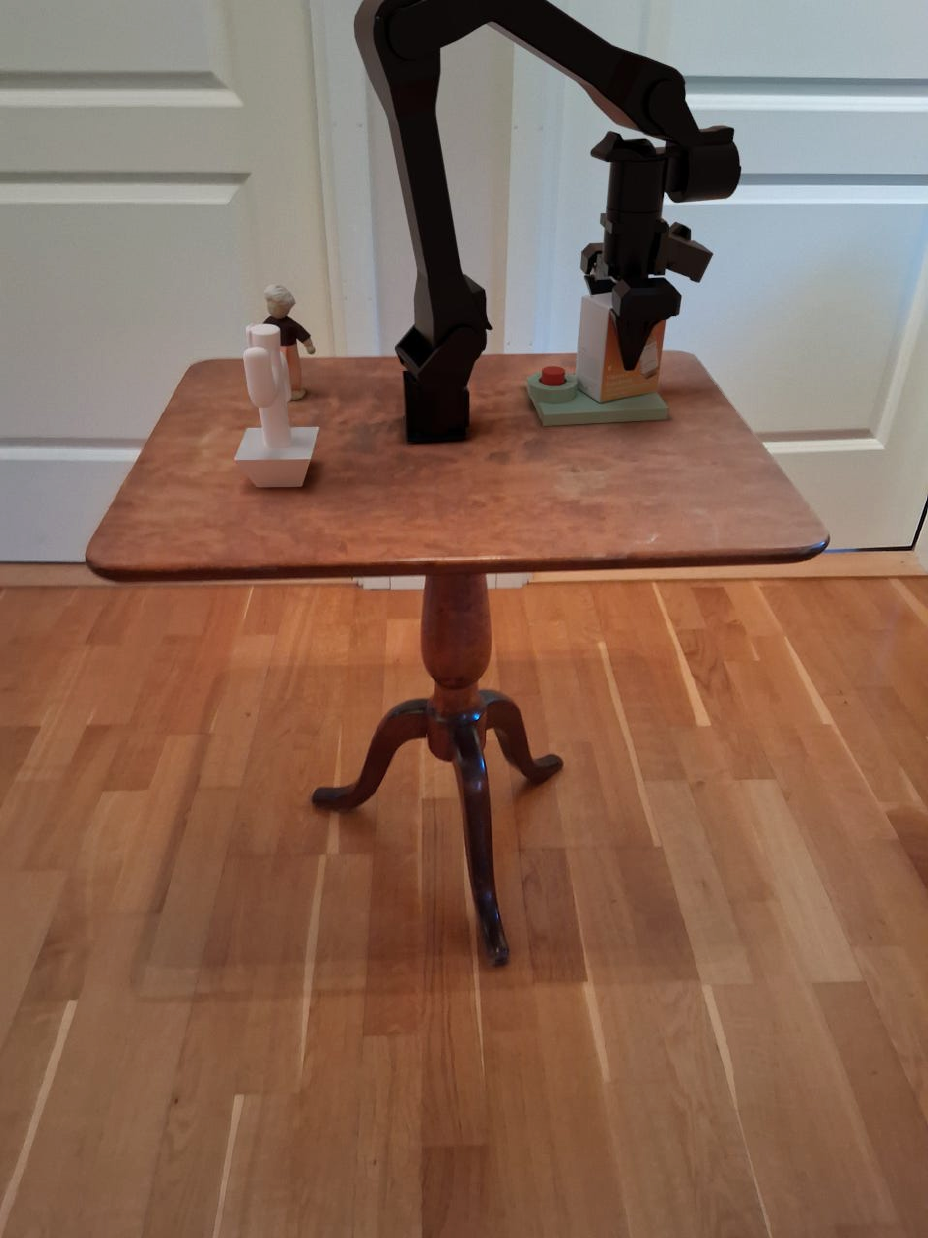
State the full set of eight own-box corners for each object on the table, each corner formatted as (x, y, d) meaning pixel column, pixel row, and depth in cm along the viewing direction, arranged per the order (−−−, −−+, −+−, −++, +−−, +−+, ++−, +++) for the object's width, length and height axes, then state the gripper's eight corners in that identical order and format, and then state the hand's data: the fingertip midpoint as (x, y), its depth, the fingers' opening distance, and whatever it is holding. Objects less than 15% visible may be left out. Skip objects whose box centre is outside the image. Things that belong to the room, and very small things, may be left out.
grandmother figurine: (254, 398, 105) (237, 287, 98) (266, 386, 108) (251, 278, 101) (315, 403, 104) (303, 292, 96) (327, 391, 107) (316, 282, 99)
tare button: (543, 388, 100) (544, 374, 99) (539, 379, 102) (540, 366, 101) (566, 387, 101) (567, 373, 100) (561, 378, 103) (562, 365, 102)
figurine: (324, 455, 93) (308, 309, 84) (313, 499, 85) (295, 343, 76) (254, 456, 93) (231, 310, 84) (237, 500, 85) (210, 344, 76)
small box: (599, 404, 100) (607, 309, 93) (573, 387, 104) (579, 294, 97) (658, 392, 102) (670, 298, 96) (631, 376, 106) (641, 285, 100)
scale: (536, 426, 98) (537, 400, 97) (520, 388, 107) (520, 363, 105) (667, 419, 100) (670, 393, 98) (640, 382, 108) (642, 357, 107)
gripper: (744, 225, 85) (717, 384, 94) (682, 185, 99) (664, 326, 109) (629, 229, 84) (613, 389, 93) (584, 188, 98) (574, 330, 108)
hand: (619, 356), depth 101 cm, fingers open, 8 cm apart
